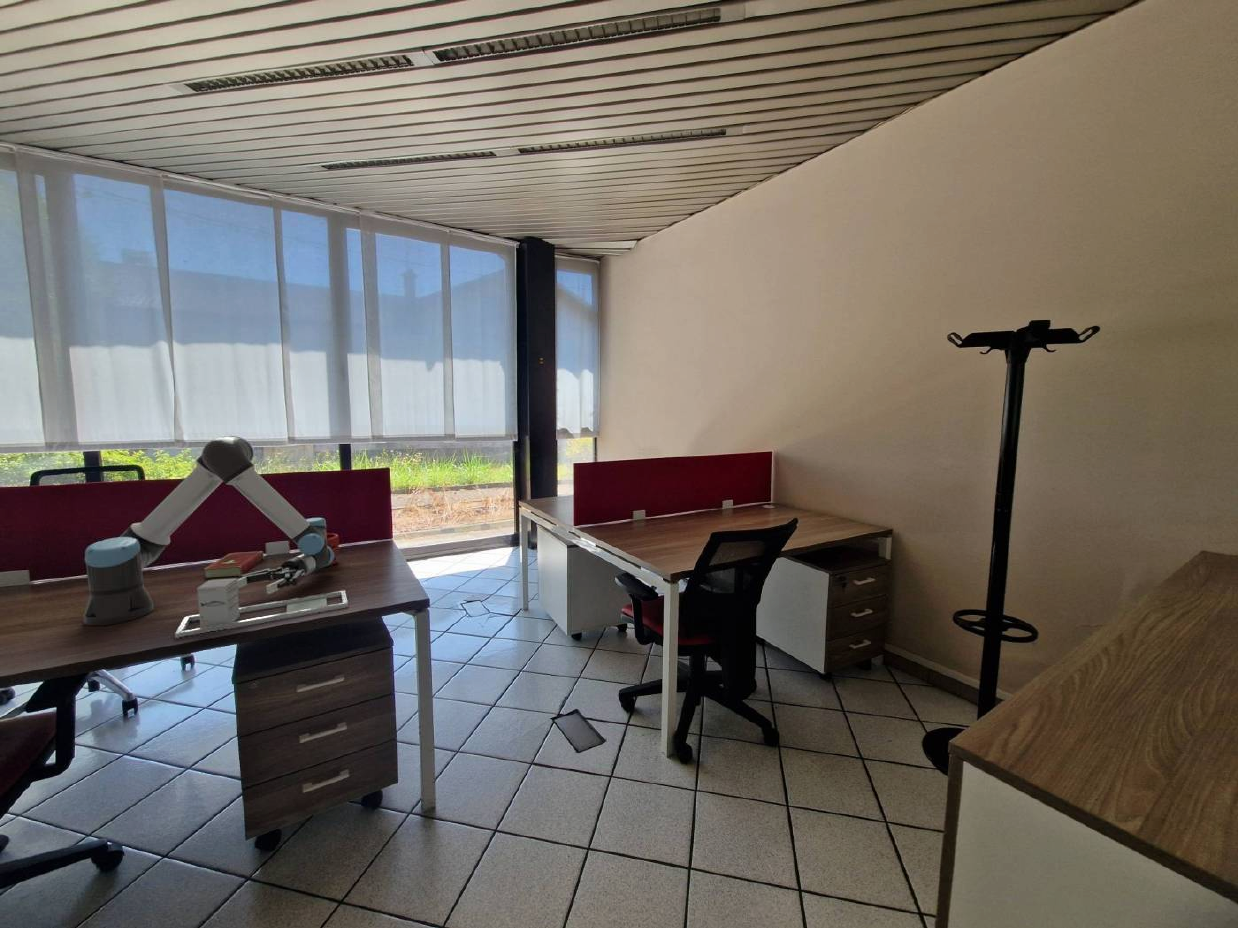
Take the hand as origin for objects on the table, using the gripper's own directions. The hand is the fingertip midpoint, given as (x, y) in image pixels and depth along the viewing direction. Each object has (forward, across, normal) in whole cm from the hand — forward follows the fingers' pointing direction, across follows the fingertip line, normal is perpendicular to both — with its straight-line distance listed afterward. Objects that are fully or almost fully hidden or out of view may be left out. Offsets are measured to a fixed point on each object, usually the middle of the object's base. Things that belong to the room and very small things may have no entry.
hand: (247, 589), depth 156 cm
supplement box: (+9, +1, -7) cm, 12 cm away
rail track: (+2, -8, -7) cm, 11 cm away
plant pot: (-45, +9, -7) cm, 47 cm away
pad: (-4, -16, -7) cm, 18 cm away
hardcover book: (-37, +40, -8) cm, 55 cm away
